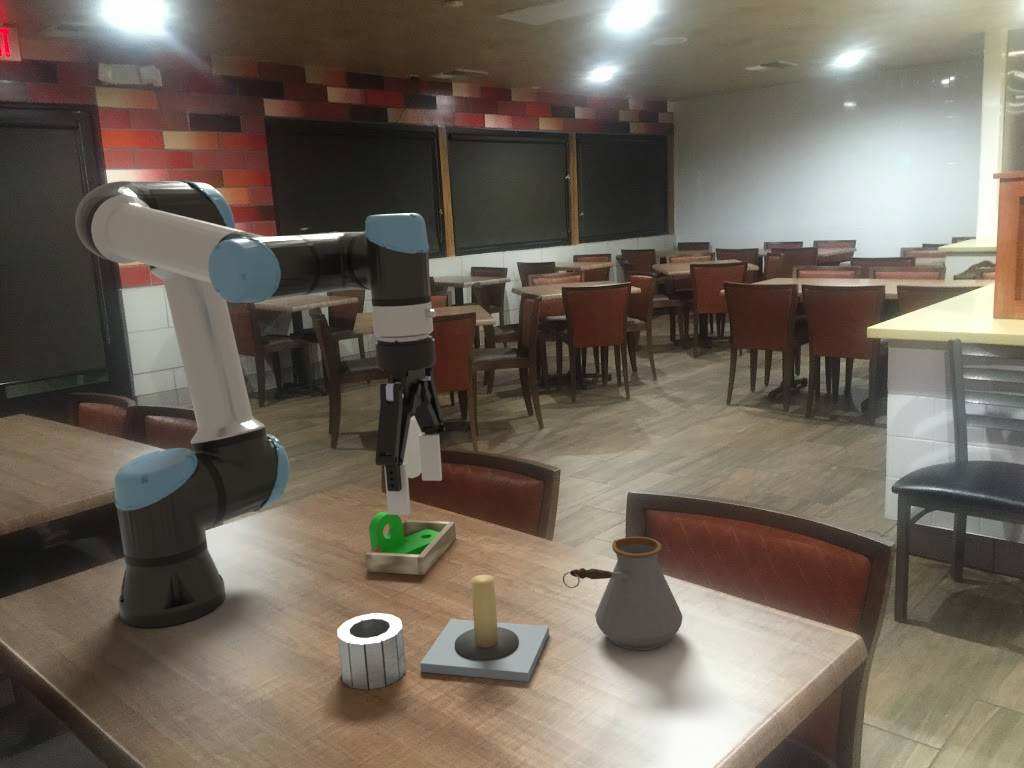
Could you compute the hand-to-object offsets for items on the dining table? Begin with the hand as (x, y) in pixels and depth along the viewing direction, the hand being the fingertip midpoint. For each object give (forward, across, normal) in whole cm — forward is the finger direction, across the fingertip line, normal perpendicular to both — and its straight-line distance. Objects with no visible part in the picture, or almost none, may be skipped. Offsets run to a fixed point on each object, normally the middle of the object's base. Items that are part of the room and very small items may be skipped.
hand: (416, 496), depth 111 cm
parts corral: (+20, +28, +11) cm, 36 cm away
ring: (+20, -10, +4) cm, 23 cm away
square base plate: (+20, -3, -9) cm, 22 cm away
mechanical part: (+20, +28, +12) cm, 36 cm away
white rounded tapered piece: (+20, +42, +16) cm, 49 cm away
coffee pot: (+20, -1, -26) cm, 33 cm away
